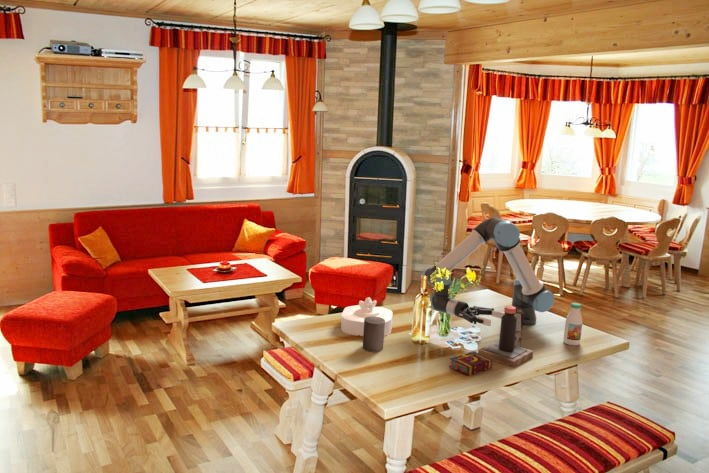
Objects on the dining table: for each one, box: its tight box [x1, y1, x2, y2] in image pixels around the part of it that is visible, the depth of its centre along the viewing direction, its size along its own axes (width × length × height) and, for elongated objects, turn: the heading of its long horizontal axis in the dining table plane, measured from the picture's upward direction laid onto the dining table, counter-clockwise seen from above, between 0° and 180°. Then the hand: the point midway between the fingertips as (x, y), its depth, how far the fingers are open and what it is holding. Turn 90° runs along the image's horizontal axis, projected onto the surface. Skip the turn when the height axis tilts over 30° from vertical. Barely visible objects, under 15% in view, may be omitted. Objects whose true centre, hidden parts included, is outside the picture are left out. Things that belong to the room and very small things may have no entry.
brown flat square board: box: [477, 339, 534, 368], centre depth 283 cm, size 18×18×3 cm
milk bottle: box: [563, 302, 583, 346], centre depth 302 cm, size 8×8×20 cm
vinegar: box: [498, 305, 517, 352], centre depth 281 cm, size 7×7×20 cm
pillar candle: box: [362, 316, 385, 353], centre depth 285 cm, size 10×10×15 cm
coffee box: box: [514, 308, 524, 347], centre depth 300 cm, size 9×6×16 cm
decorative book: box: [448, 351, 493, 377], centre depth 268 cm, size 11×16×5 cm
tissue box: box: [340, 296, 394, 337], centre depth 312 cm, size 25×25×16 cm
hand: (497, 319), depth 284 cm, fingers open, 13 cm apart
